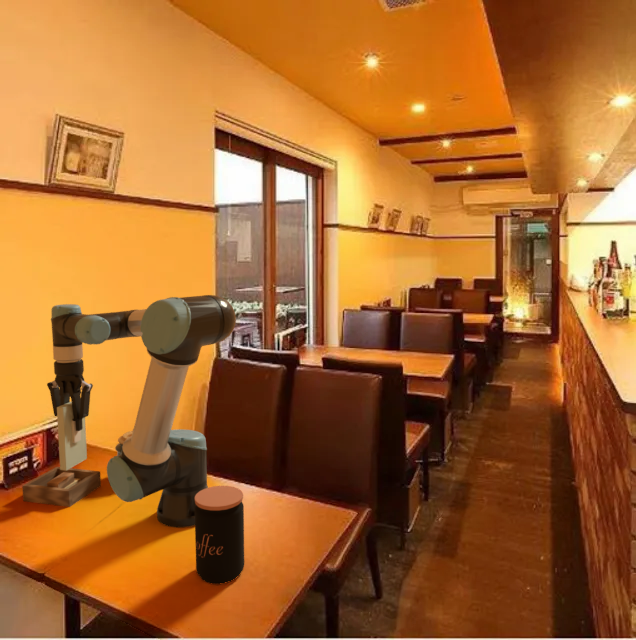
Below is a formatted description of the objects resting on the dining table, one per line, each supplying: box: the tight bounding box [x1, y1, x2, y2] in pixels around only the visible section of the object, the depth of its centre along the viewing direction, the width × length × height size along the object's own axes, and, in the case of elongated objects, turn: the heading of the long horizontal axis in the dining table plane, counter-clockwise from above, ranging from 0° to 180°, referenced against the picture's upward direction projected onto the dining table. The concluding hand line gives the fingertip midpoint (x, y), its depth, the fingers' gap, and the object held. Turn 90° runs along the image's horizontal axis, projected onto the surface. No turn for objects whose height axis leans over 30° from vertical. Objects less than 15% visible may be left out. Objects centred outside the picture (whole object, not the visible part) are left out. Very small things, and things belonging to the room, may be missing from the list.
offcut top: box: [47, 472, 74, 488], centre depth 159 cm, size 3×8×2 cm, turn 171°
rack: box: [21, 466, 102, 508], centre depth 160 cm, size 15×14×6 cm
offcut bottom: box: [64, 478, 80, 489], centre depth 160 cm, size 4×10×2 cm, turn 167°
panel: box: [56, 400, 88, 471], centre depth 157 cm, size 2×9×18 cm, turn 167°
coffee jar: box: [194, 485, 245, 585], centre depth 123 cm, size 11×11×18 cm
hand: (72, 440), depth 157 cm, fingers closed on panel, 2 cm apart
